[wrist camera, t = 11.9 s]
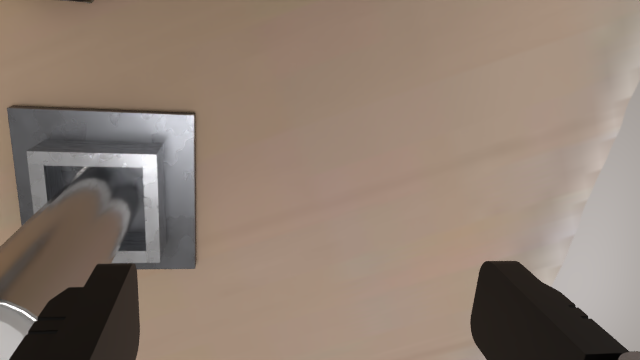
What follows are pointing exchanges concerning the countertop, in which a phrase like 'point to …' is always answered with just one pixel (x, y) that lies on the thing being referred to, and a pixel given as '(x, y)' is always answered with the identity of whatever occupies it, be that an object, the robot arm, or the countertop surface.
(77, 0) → the coffee box
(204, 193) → the countertop surface
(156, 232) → the board
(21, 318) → the silver metal cylinder
